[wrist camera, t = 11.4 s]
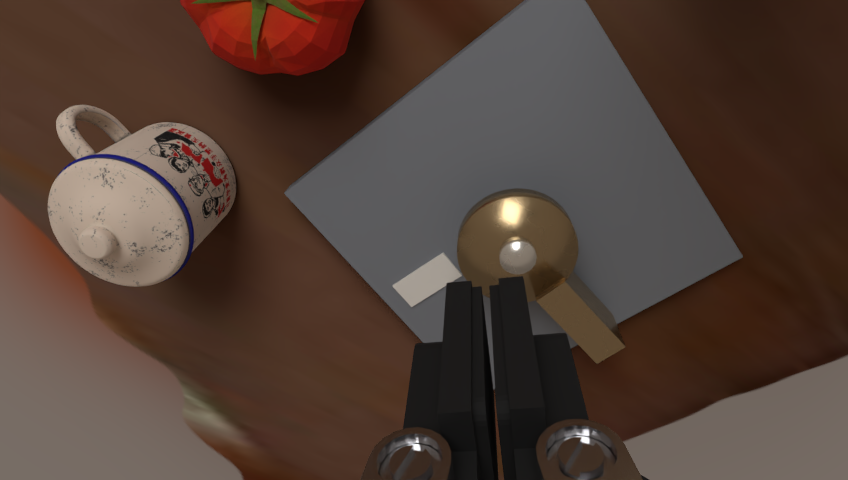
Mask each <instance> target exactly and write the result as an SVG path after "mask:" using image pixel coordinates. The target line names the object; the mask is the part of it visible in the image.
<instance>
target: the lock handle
mask: <svg viewBox="0 0 848 480" xmlns="http://www.w3.org/2000/svg"><path fill="white" fill-rule="evenodd" d="M577 258H578V239H577V235H576V232H575V230H574V227H573V224H572V222H571V219H570V217H569V215H568V214H567V212H566V211H565V210H564V208H563V207H562V206H561V205H560V204H559V203H558V202H557V201H555V200H554V199H553V198H551V197H549V196H547V195H546V194H543V193H541V192H538V191H534V190H530V189H522V188H514V189H506V190H502V191H498V192H495V193H493V194H490V195H488V196H486V197H485V198H483V199H482V200H480V201H479V202H477V203H476V204H475V205H474V206H473V207H472V208H471V209H470V210H469V211H468V213H467V214H466V216H465V217H464V219H463V221H462V223H461V225H460V228H459V232H458V238H457V259H458V264H459V267H460V270H461V272H462V274H463V276H464V277H465V279H466V280H467V281H471V282H472V287H478V286H481V287H482V294H483V295H484V296H486V297H488V298H490V290H489V286H490V285H499V279H498V278H507V277H519V276H523V278H524V284H525V290H526V296H527V302H531V301H535V300H536V302H537V303H538V304H539V305H540V306H541V307H542V308H543V309H544V310H545V311H546V312H547V313H548V314H549V315H550V316H551V317H552V318H553V319H554V320H555V321H556V322H557V323H558V324H559V325H560V326H561V327H562V328H563V329H564V331H565V332H566V333H567V334H568V335H569V336H570V337H571V338H572V339H573V340H574V341H575V342H576V343H577V344H578V345H579V346H580V347H581V348H582V349H583V350H584V351H585V352H586V353H587V354H588V355H589V356H590V357H591V358H592V359H593V360H594V362H595V363H596V364H598V363H600V362H601V361H603V360H605V359H606V358H608V357H610V356H611V355H613V354H615V353H616V352H618V351H620V350H621V349H623V348H625V347H626V346H625V344H624V341H623V339H622V336H621V334H620V331H619V329H618V326H617V324H616V321H615V318H614V316H613V314H612V313H611V312H610V311H609V310H608V308H607V307H606V306H605V305H604V304H603V303H602V302H601V301H600V300H599V299H598V298H597V296H596V295H595V294H594V293H593V292H592V291H591V290H590V289H589V288H588V287H587V286H586V284H585V283H584V282H583V281H582V280H581V279H580V278H579V277H578V276H577V275H576V274H575V272H574V271H573V269H574V267H575V265H576V262H577Z"/></svg>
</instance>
